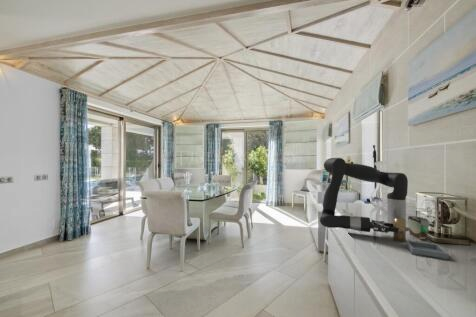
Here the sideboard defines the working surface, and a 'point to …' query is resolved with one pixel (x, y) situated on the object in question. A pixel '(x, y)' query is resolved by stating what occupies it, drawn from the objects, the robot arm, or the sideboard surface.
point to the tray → (426, 250)
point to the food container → (418, 227)
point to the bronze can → (399, 229)
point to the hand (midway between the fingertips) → (396, 228)
